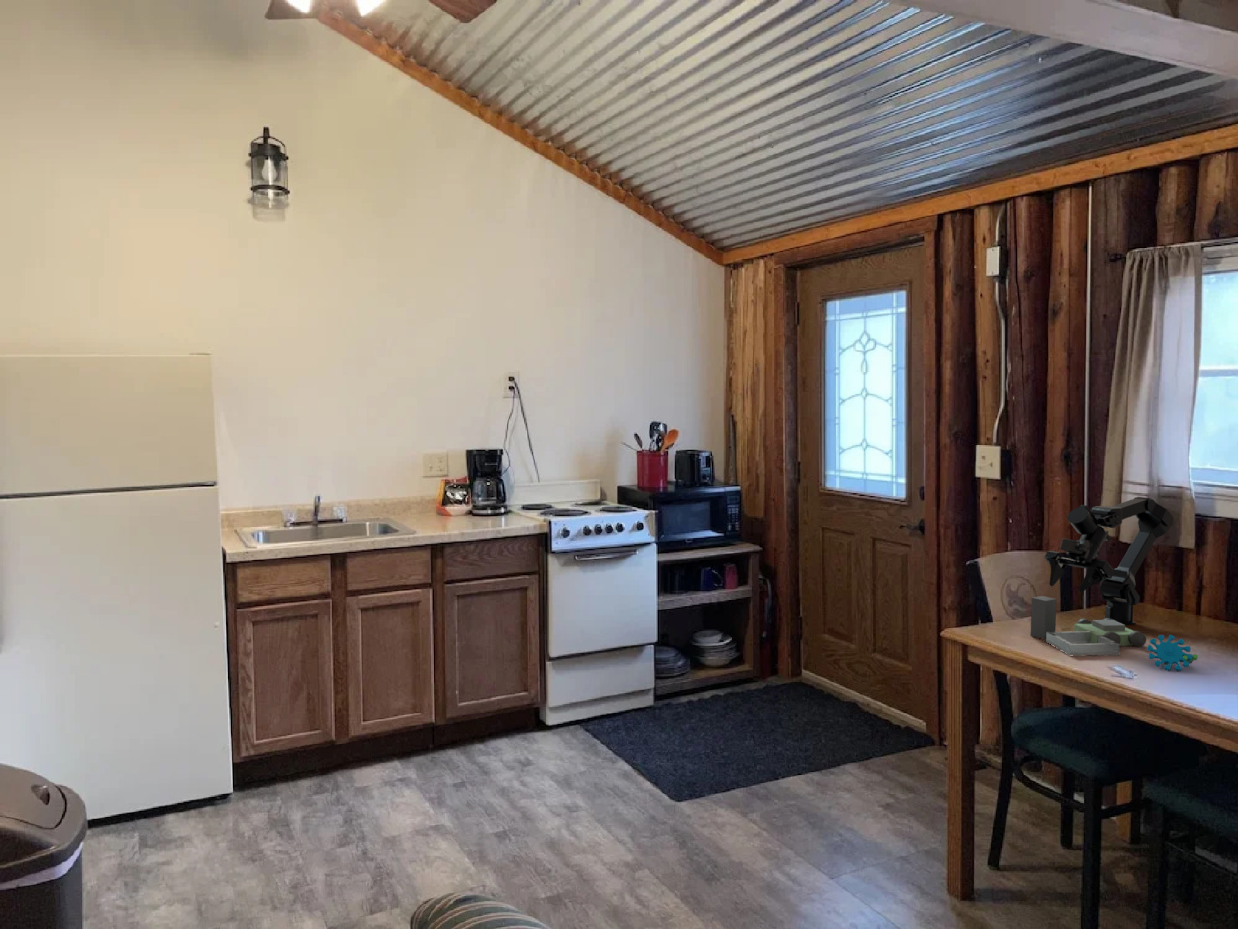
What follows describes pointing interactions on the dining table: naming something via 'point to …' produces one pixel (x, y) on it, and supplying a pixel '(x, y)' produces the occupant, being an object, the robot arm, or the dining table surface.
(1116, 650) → the grey tray
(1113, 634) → the toy car
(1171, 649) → the teal spiky round piece
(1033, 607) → the grey block
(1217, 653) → the dining table surface
